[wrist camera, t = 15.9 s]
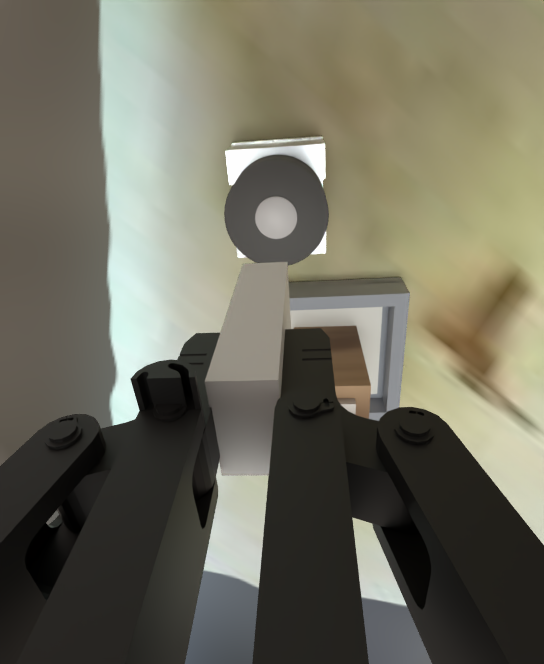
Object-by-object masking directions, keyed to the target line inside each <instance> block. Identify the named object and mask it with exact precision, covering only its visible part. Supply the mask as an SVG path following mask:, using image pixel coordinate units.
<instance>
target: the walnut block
mask: <svg viewBox="0 0 544 664" xmlns="http://www.w3.org/2000/svg"><path fill="white" fill-rule="evenodd" d="M310 328H321V329H322V330H323V331H324V332H325V333H326V334H327V335H328V336H329V337H330V345H331V354H332V364H333V373H334V382H335V391H336V396H337V399H338V401H339V403H340V404H341V405H342V406H343V407H344V408H345V409H346V410H348V411H349V412H351V413H353V414H355V415H357V416H361V417H364V418H368V419H369V410H370V395H371V383H370V379H369V375H368V371H367V367H366V363H365V359H364V355H363V351H362V347H361V343H360V339H359V335H358V331H357V327H356V326H324V327H294V329H310Z"/></svg>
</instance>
